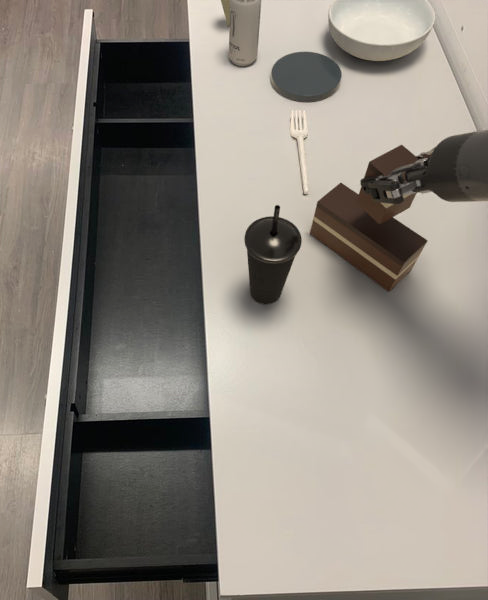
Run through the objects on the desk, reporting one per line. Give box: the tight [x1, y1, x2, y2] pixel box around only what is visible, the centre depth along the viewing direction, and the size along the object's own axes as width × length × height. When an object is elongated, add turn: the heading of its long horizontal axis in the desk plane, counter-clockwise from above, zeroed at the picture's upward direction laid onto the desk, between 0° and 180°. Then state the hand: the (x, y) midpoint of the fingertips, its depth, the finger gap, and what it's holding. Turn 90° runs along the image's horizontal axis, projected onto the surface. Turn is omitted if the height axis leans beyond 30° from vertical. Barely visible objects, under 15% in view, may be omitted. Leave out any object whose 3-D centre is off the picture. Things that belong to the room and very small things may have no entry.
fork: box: [289, 109, 309, 195], centre depth 97 cm, size 3×20×2 cm, turn 178°
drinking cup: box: [243, 204, 303, 305], centre depth 74 cm, size 8×8×20 cm
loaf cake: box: [309, 182, 428, 293], centre depth 82 cm, size 6×16×8 cm, turn 42°
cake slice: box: [356, 144, 420, 224], centre depth 72 cm, size 6×5×8 cm
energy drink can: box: [228, 0, 262, 67], centre depth 106 cm, size 6×6×15 cm
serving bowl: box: [327, 0, 436, 62], centre depth 110 cm, size 21×21×7 cm
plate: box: [270, 51, 343, 103], centre depth 108 cm, size 14×14×2 cm
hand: (382, 176), depth 73 cm, fingers closed on cake slice, 5 cm apart
